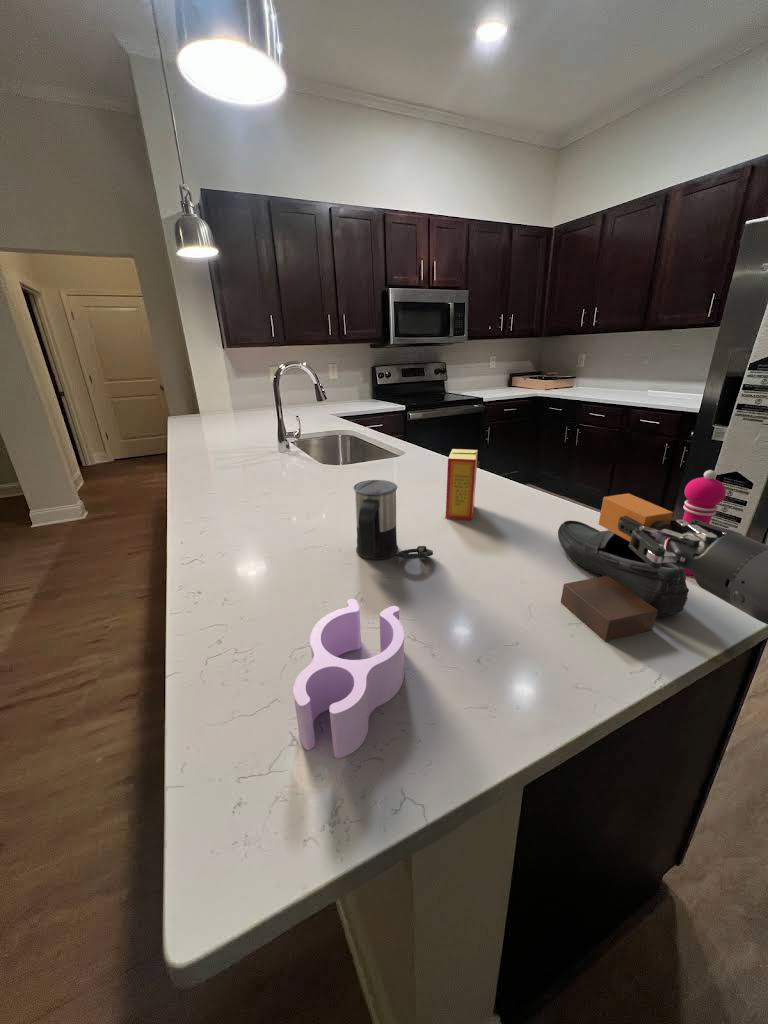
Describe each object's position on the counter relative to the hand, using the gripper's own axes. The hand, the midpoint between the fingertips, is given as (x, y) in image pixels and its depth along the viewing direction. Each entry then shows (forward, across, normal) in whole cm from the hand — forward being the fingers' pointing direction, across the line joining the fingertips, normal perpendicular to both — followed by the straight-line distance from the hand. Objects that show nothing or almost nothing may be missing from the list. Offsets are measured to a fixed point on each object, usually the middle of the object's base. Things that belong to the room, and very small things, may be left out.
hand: (635, 519), depth 61 cm
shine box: (+2, 0, +18) cm, 18 cm away
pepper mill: (+10, -25, +18) cm, 33 cm away
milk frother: (+32, +28, +18) cm, 46 cm away
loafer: (+11, -10, +18) cm, 24 cm away
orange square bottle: (0, 0, 0) cm, 0 cm away
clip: (-1, +43, +18) cm, 47 cm away
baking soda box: (+49, +4, +18) cm, 52 cm away
